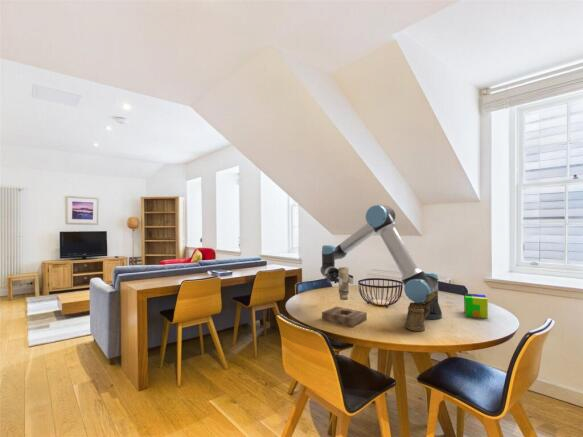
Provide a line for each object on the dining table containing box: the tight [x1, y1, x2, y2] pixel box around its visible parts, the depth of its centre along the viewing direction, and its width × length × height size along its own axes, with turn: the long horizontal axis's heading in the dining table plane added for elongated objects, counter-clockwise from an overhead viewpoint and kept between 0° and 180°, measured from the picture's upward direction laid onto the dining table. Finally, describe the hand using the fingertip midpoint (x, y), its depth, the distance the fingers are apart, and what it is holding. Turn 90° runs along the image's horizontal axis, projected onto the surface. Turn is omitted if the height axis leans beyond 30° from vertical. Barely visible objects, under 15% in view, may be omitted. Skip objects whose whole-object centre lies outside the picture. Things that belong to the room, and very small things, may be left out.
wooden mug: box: [403, 292, 437, 332], centre depth 148 cm, size 9×14×18 cm, turn 90°
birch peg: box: [338, 266, 350, 301], centre depth 163 cm, size 5×5×16 cm
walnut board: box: [321, 306, 368, 328], centre depth 162 cm, size 18×14×4 cm
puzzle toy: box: [463, 293, 489, 319], centre depth 171 cm, size 10×10×10 cm
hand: (347, 281), depth 157 cm, fingers closed on birch peg, 5 cm apart
